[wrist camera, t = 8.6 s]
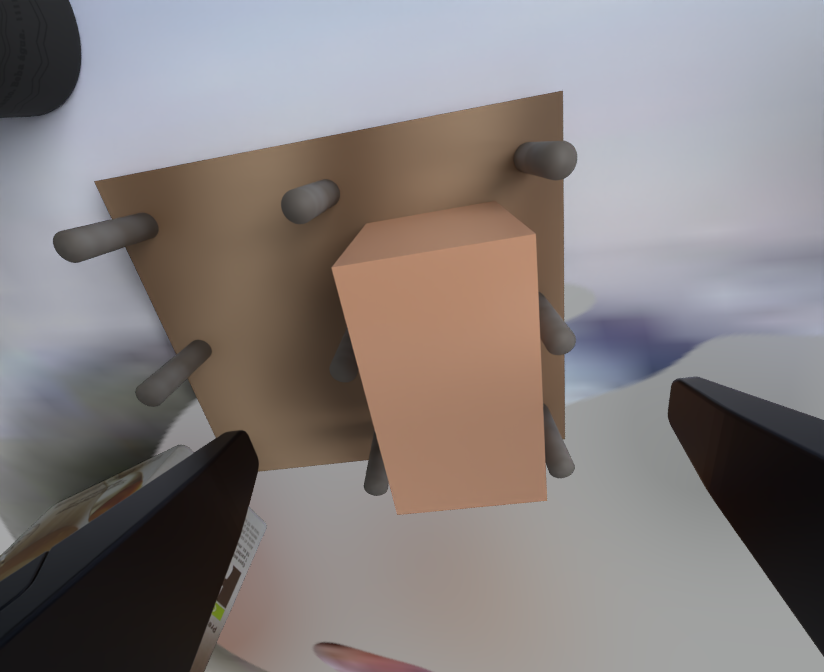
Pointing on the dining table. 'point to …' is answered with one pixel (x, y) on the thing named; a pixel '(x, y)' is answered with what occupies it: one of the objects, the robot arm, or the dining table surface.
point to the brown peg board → (322, 266)
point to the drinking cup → (37, 56)
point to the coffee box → (108, 494)
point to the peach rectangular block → (450, 355)
